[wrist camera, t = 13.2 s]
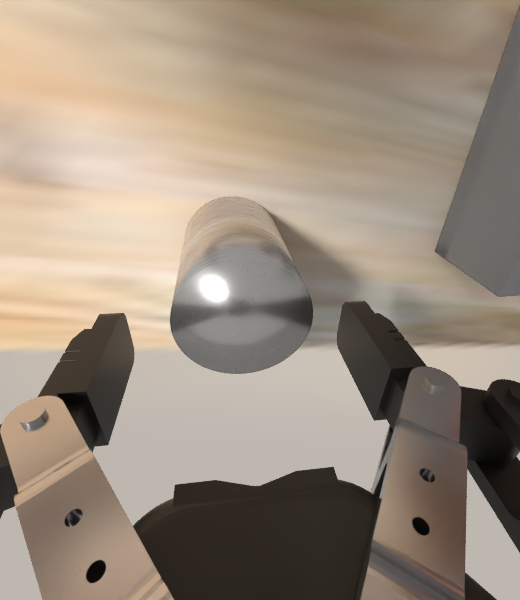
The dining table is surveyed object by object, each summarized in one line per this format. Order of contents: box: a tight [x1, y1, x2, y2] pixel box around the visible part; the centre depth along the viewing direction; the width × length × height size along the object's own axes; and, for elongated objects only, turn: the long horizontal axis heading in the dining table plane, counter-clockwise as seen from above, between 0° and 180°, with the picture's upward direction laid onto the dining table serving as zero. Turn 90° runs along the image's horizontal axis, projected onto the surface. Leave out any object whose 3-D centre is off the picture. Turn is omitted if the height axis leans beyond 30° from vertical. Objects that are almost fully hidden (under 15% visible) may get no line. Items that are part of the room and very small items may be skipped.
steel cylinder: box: [170, 197, 313, 374], centre depth 14 cm, size 5×5×7 cm
